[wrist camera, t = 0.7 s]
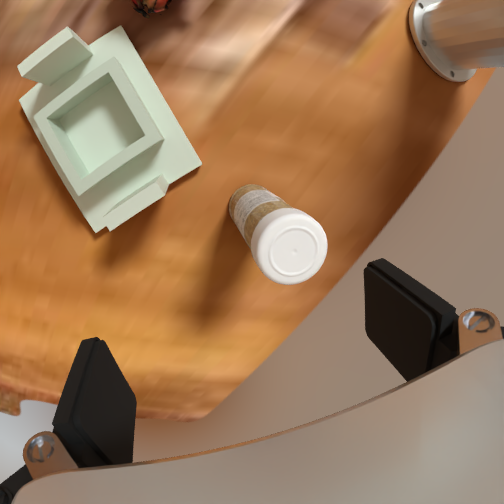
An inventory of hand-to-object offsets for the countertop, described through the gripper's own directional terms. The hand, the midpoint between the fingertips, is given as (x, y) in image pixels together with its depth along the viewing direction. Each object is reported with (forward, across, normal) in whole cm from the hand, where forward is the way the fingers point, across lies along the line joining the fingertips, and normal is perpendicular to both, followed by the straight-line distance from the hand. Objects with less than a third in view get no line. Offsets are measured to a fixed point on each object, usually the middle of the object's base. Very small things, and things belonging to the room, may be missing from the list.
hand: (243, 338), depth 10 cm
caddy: (+22, +7, -10) cm, 25 cm away
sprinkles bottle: (+22, -4, +1) cm, 22 cm away
